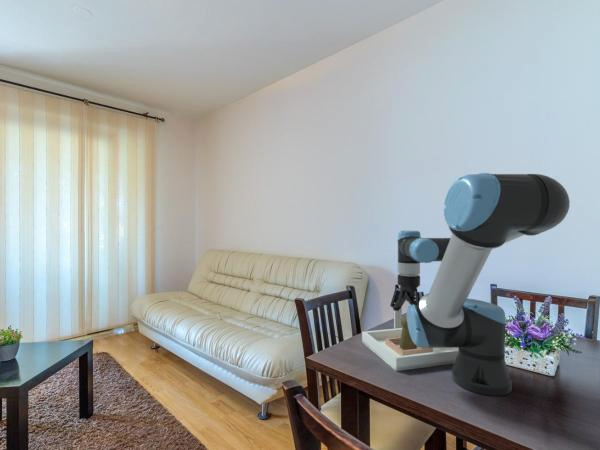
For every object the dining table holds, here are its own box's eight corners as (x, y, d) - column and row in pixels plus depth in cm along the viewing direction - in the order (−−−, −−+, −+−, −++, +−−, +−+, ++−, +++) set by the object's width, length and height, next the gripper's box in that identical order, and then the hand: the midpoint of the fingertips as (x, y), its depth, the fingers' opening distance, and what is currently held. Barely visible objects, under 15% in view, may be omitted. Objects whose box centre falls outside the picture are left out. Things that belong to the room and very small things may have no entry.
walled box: (461, 362, 106) (461, 350, 106) (396, 371, 100) (396, 358, 100) (417, 336, 129) (417, 326, 129) (362, 342, 123) (362, 331, 123)
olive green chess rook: (414, 345, 117) (415, 315, 117) (419, 352, 111) (419, 320, 111) (397, 345, 118) (397, 315, 117) (401, 352, 112) (401, 320, 111)
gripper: (441, 280, 103) (441, 346, 103) (398, 268, 127) (398, 322, 127) (421, 281, 101) (420, 349, 101) (381, 269, 125) (381, 323, 125)
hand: (408, 334), depth 114 cm, fingers open, 13 cm apart
